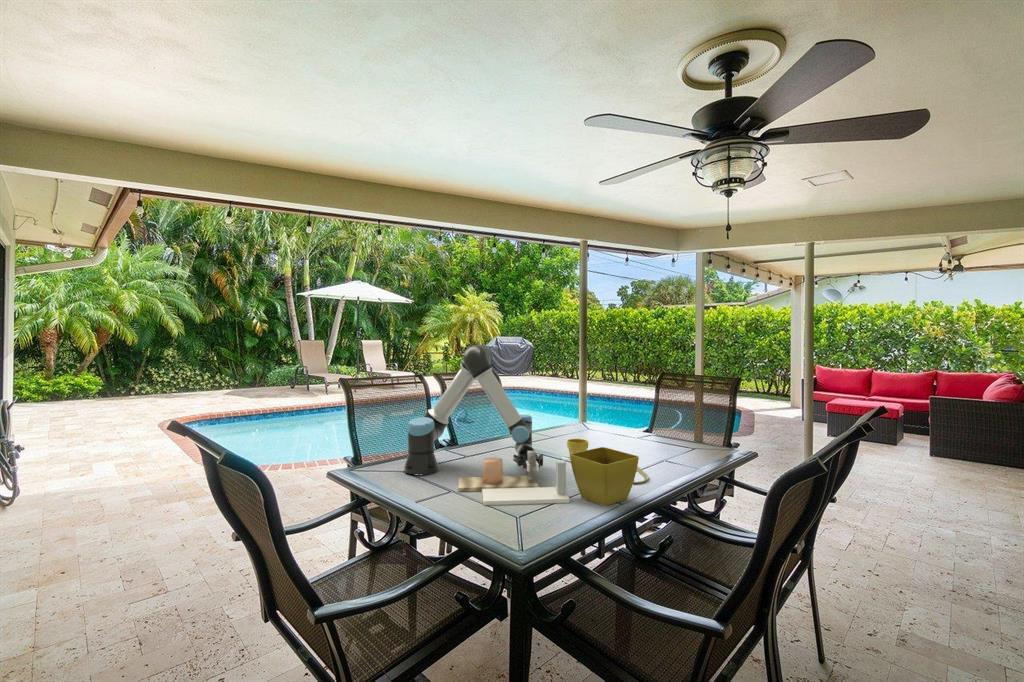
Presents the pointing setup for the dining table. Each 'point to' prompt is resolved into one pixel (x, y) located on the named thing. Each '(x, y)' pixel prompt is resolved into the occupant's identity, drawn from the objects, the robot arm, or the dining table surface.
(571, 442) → the plant pot
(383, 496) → the dining table surface
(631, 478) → the flower pot
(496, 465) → the tan rounded cylinder
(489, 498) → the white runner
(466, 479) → the oak runner
